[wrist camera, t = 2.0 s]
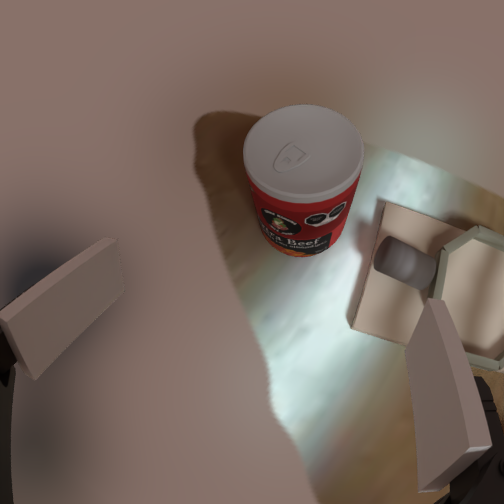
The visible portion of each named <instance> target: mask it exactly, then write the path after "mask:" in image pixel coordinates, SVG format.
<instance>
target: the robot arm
mask: <svg viewBox="0 0 504 504" xmlns="http://www.w3.org/2000/svg"><path fill="white" fill-rule="evenodd" d="M123 292H125V289H124V282H123V276H122V269H121V262H120V254H119V246H118V240H117V239H113V238H108V237H104V238H103V239H101V240H99V241H98V242H96V243H95V244H93V245H92V246H90V247H89V248H87V249H86V250H84V251H83V252H81V253H80V254H78V255H77V256H75V257H74V258H72V259H71V260H69V261H68V262H66V263H65V264H63V265H62V266H60V267H59V268H58V269H56V270H55V271H53V272H52V273H51V274H49V275H48V276H46V277H45V278H43V279H42V280H41V281H39V282H38V283H37V284H34V285H32V286H31V287H29V288H28V289H27V290H25V291H24V293H22V294H20V295H19V296H17V298H16V299H13V300H12V301H11V302H9V303H8V304H7V305H6V306H4V307H3V308H2V309H1V310H0V504H14V503H13V493H12V479H11V416H12V403H13V392H14V383H15V375H16V371H15V367H14V364H15V363H16V362H17V361H18V363H19V365H20V367H21V369H22V371H23V372H24V373H25V374H26V375H28V376H29V377H31V378H32V379H34V380H36V379H37V378H38V377H39V376H40V375H41V373H42V372H43V371H44V370H45V369H46V368H47V367H48V366H49V365H50V364H51V363H52V362H53V361H54V360H55V359H56V358H57V357H58V356H59V355H60V354H61V353H62V352H63V351H64V350H65V349H66V348H67V346H69V345H70V344H71V343H72V342H73V341H74V340H75V339H76V338H77V337H78V336H79V335H80V334H81V333H82V332H83V331H84V330H85V329H86V328H87V327H88V326H89V325H90V324H91V323H92V322H93V321H94V320H95V319H96V318H97V317H98V316H99V315H100V314H101V313H102V312H103V311H104V310H105V309H107V308H108V307H109V306H110V305H111V304H112V303H113V302H114V301H115V300H116V299H117V298H118V297H119V296H120V295H121V294H122V293H123ZM405 356H406V362H407V368H408V375H409V382H410V389H411V396H412V405H413V414H414V423H415V435H416V448H417V467H418V492H432V491H440V490H441V489H442V488H444V487H445V486H446V485H448V484H449V483H450V492H449V493H448V494H446V495H445V496H443V497H442V498H440V499H439V500H438V501H436V502H435V503H434V504H439V503H440V504H504V434H503V431H502V427H501V423H500V420H499V416H498V413H497V412H496V410H497V409H496V406H495V403H494V402H493V396H492V393H491V390H490V388H489V386H488V385H487V384H486V382H485V381H484V379H483V378H482V377H477V376H473V373H472V370H471V367H470V364H469V362H468V359H467V356H466V353H465V351H464V348H463V345H462V343H461V340H460V337H459V335H458V332H457V330H456V327H455V325H454V322H453V320H452V318H451V315H450V313H449V311H448V308H447V306H446V304H445V301H444V300H438V299H432V298H427V301H426V303H425V306H424V308H423V311H422V313H421V316H420V318H419V320H418V323H417V325H416V327H415V329H414V332H413V334H412V336H411V338H410V340H409V343H408V345H407V347H406V349H405Z"/></svg>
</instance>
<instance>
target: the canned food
mask: <svg viewBox="0 0 504 504" xmlns="http://www.w3.org/2000/svg"><path fill="white" fill-rule="evenodd" d="M243 156H244V166H245V170H246V175H247V178H248V182H249V186H250V189H251V193H252V197H253V200H254V204H255V208H256V211H257V215H258V219H259V222H260V226H261V229H262V233H263V235H264V236H265V238H266V240H267V241H268V242H269V243H270V244H271V245H272V246H273V247H274V248H276V249H277V250H278V251H280V252H282V253H285V254H287V255H290V256H294V257H308V256H313V255H316V254H318V253H321V252H323V251H324V250H326V249H328V248H329V247H330V246H331V245H333V244H334V243H335V242H336V240H337V239H338V238H339V236H340V235H341V232H342V230H343V228H344V225H345V222H346V219H347V216H348V213H349V210H350V207H351V204H352V201H353V197H354V194H355V191H356V188H357V185H358V181H359V178H360V173H361V170H362V166H363V160H364V143H363V140H362V138H361V135H360V133H359V131H358V130H357V128H356V127H355V126H354V125H353V123H352V122H351V121H350V120H349V119H347V118H346V117H344V116H343V115H342V114H340V113H338V112H336V111H334V110H332V109H329V108H326V107H323V106H318V105H312V104H297V105H290V106H286V107H282V108H279V109H277V110H275V111H272V112H270V113H268V114H267V115H265V116H264V117H262V118H261V119H260V120H259V121H257V122H256V123H255V124H254V125H253V127H252V128H251V130H250V131H249V132H248V135H247V137H246V139H245V142H244V147H243Z"/></svg>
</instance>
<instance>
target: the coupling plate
mask: <svg viewBox="0 0 504 504" xmlns="http://www.w3.org/2000/svg"><path fill="white" fill-rule="evenodd" d="M427 298H432V299H438V300H444V301H445V304H446V306H447V308H448V311H449V313H450V315H451V318H452V320H453V322H454V325H455V327H456V330H457V332H458V335H459V337H460V340H461V343H462V345H463V348H464V351H465V353H466V356H467V359H468V362H469V364H470V366H473V367H476V368H480V369H484V370H488V371H497V372H501V373H504V236H503V235H501V234H499V233H496V232H494V231H492V230H490V229H487V228H485V227H483V226H481V225H479V226H478V227H477V225H476V226H474V227H473V228H471V229H469V230H468V231H464V230H462V229H459V228H457V227H454V226H452V225H449V224H447V223H444V222H441V221H439V220H436V219H434V218H431V217H428V216H426V215H423V214H420V213H418V212H415V211H412V210H409V209H406V208H404V207H401V206H398V205H395V204H392V203H389V202H386V204H385V206H384V208H383V212H382V217H381V221H380V226H379V230H378V234H377V239H376V243H375V247H374V251H373V255H372V258H371V262H370V266H369V270H368V273H367V277H366V281H365V284H364V288H363V291H362V295H361V298H360V301H359V305H358V308H357V311H356V314H355V317H354V321H353V324H352V327H351V329H353V330H356V331H359V332H362V333H365V334H368V335H372V336H375V337H378V338H381V339H384V340H388V341H391V342H394V343H397V344H401V345H404V346H407V345H408V343H409V340H410V338H411V336H412V334H413V332H414V329H415V327H416V325H417V323H418V320H419V318H420V316H421V313H422V311H423V308H424V306H425V303H426V301H427Z"/></svg>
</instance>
